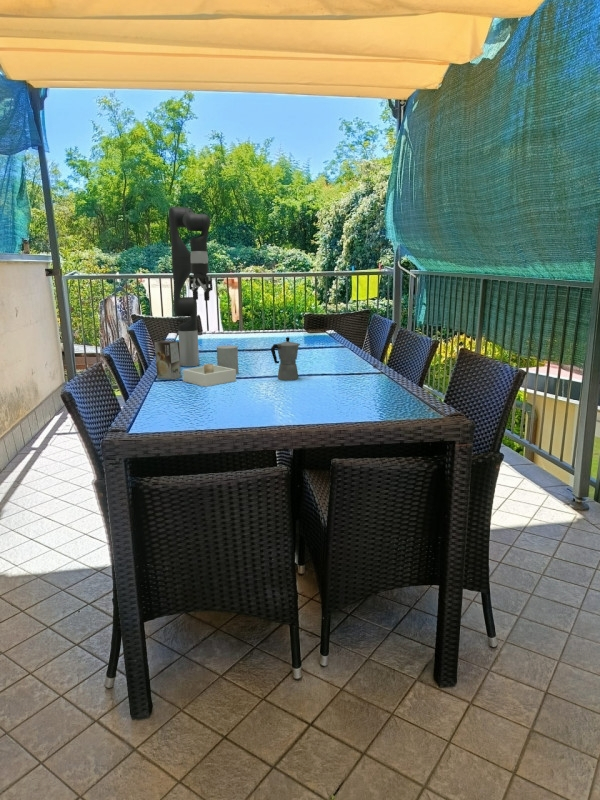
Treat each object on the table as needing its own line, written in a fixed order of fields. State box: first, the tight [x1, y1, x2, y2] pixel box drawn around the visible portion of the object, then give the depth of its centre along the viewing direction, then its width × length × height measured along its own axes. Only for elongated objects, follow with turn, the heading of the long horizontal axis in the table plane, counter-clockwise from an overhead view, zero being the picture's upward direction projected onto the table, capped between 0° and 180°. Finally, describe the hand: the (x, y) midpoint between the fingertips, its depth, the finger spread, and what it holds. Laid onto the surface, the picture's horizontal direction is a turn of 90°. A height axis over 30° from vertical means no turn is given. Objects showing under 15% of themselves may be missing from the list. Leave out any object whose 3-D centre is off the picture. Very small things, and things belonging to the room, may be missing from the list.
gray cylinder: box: [216, 344, 239, 376], centre depth 250 cm, size 10×10×12 cm
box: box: [182, 364, 237, 388], centre depth 234 cm, size 16×16×5 cm
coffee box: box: [154, 339, 182, 380], centre depth 240 cm, size 9×6×16 cm
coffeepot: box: [270, 336, 301, 382], centre depth 236 cm, size 15×9×18 cm, turn 129°
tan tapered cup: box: [203, 363, 214, 374], centre depth 234 cm, size 4×4×6 cm
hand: (201, 300), depth 243 cm, fingers open, 8 cm apart
